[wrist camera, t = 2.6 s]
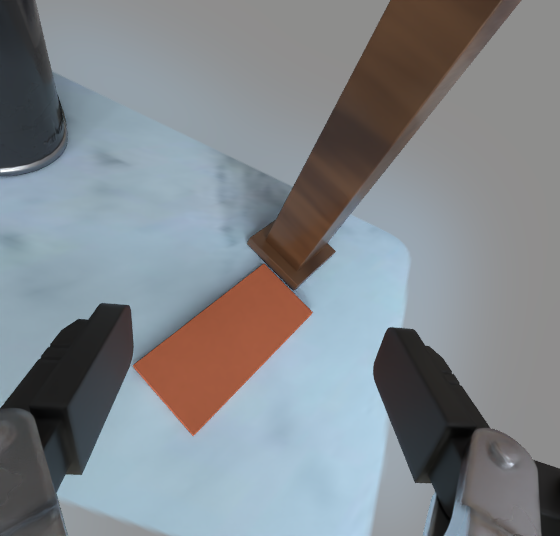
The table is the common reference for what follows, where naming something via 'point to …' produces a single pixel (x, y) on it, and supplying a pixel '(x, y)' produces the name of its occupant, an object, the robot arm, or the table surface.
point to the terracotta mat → (222, 347)
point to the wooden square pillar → (376, 121)
